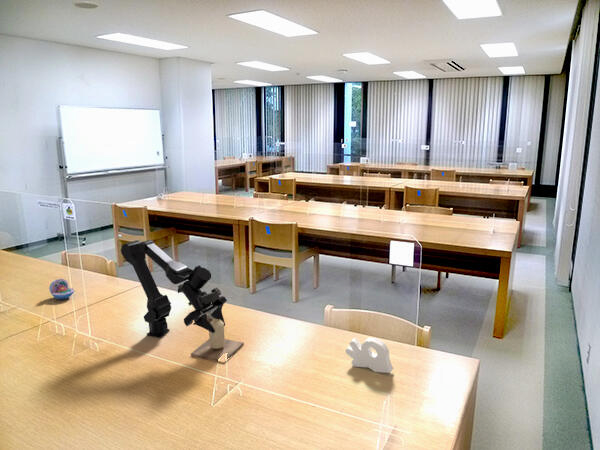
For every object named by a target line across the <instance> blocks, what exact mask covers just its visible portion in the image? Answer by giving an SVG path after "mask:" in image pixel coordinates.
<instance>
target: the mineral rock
mask: <svg viewBox="0 0 600 450" xmlns="http://www.w3.org/2000/svg"><path fill="white" fill-rule="evenodd" d="M211 313H212V312H211V310H210V311H209V312H207V313H205V314H207V319H208V320H211V321H212V320H213V319H214V318H213V317H212V316H211V315H210V314H211Z"/></svg>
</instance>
